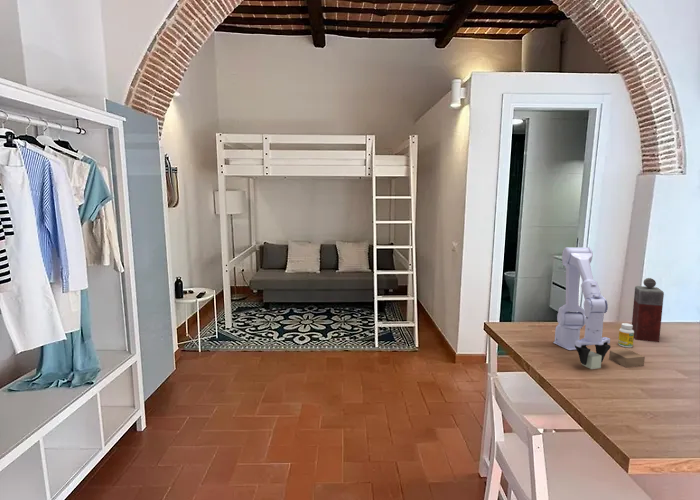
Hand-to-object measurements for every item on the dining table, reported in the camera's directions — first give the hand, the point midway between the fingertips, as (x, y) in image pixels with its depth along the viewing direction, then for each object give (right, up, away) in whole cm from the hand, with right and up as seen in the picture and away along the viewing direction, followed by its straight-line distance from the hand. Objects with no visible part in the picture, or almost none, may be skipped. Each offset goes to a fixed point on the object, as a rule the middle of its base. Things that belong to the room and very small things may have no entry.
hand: (591, 362), depth 153 cm
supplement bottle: (+28, +1, +21) cm, 35 cm away
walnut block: (+16, -1, +3) cm, 16 cm away
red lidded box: (+43, +3, +31) cm, 54 cm away
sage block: (0, -2, 0) cm, 2 cm away
